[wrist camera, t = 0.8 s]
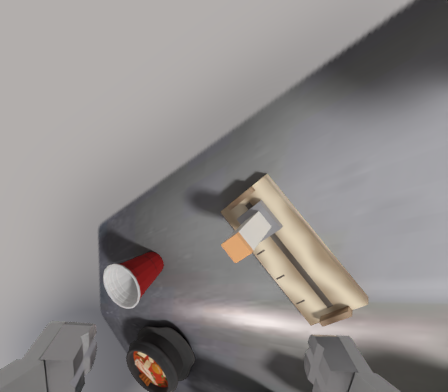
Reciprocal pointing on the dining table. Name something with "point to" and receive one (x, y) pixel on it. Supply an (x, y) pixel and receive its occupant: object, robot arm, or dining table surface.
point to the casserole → (159, 359)
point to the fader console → (299, 258)
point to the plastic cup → (132, 278)
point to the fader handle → (251, 231)
